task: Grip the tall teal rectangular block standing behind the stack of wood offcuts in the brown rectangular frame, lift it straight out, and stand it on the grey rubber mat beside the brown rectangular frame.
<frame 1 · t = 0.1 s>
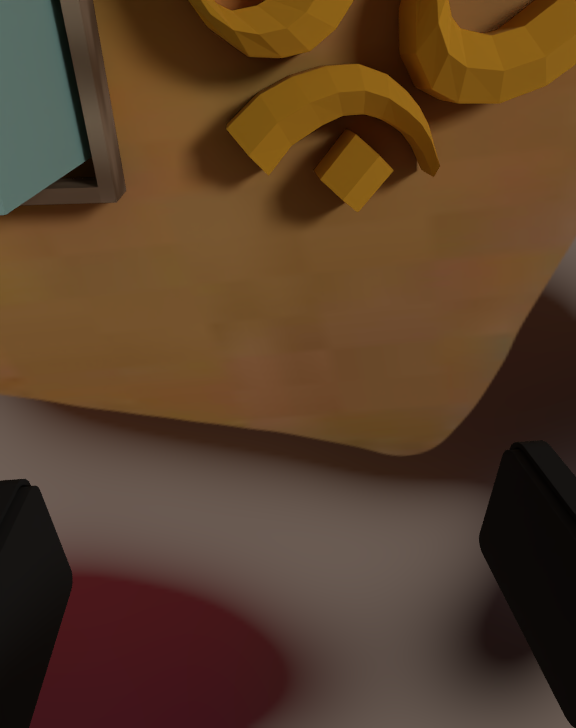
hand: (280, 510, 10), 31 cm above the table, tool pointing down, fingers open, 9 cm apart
teal rectangular block: (52, 63, 31), resting in brown rectangular frame
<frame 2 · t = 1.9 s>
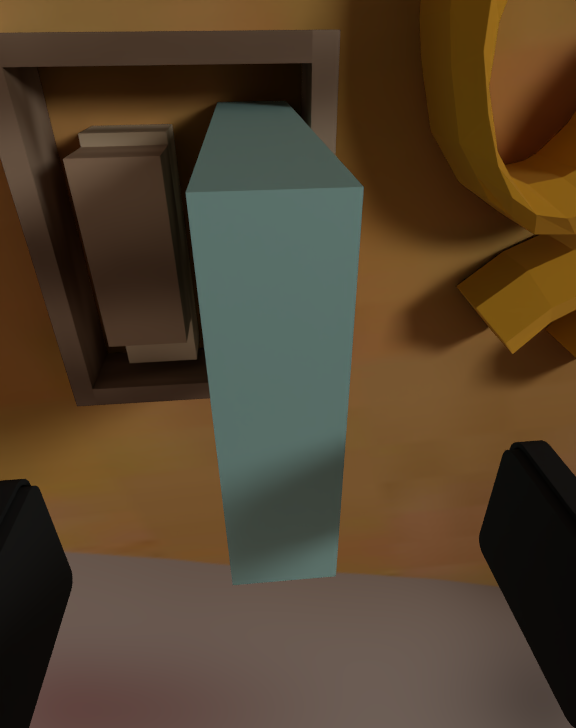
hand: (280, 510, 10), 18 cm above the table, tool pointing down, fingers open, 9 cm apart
teal rectangular block: (257, 225, 25), resting in brown rectangular frame
brown rectangular frame: (190, 227, 24), on the table
offcut stack: (153, 243, 25), resting in brown rectangular frame
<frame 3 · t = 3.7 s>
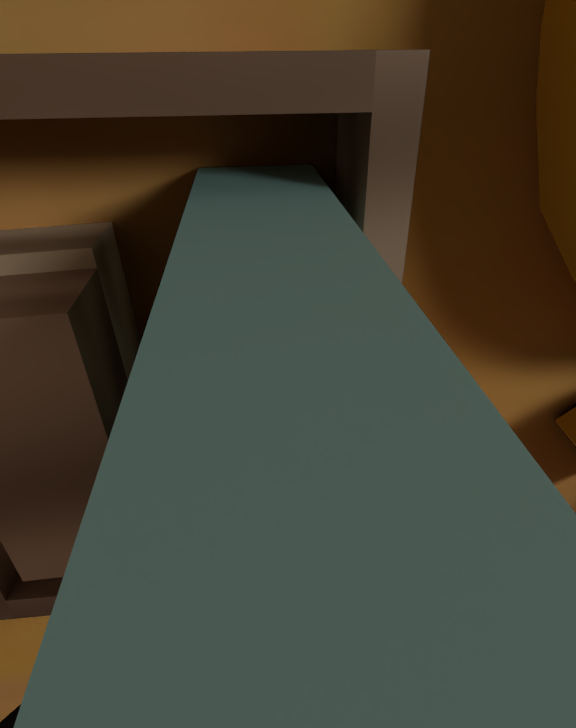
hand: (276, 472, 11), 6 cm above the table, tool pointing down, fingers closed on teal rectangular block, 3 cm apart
teal rectangular block: (263, 346, 16), resting in brown rectangular frame, touching gripper
brown rectangular frame: (158, 351, 16), on the table
offcut stack: (100, 387, 16), resting in brown rectangular frame
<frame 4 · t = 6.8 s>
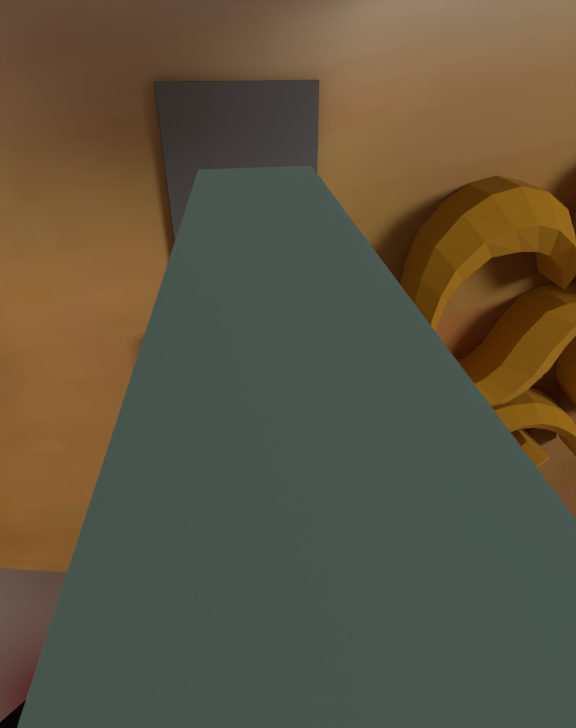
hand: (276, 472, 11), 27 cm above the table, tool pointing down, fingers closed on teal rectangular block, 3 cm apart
mat: (243, 197, 34), on the table
decorative symbol: (563, 318, 42), on the table
teal rectangular block: (263, 347, 16), point 21 cm above the table, touching gripper
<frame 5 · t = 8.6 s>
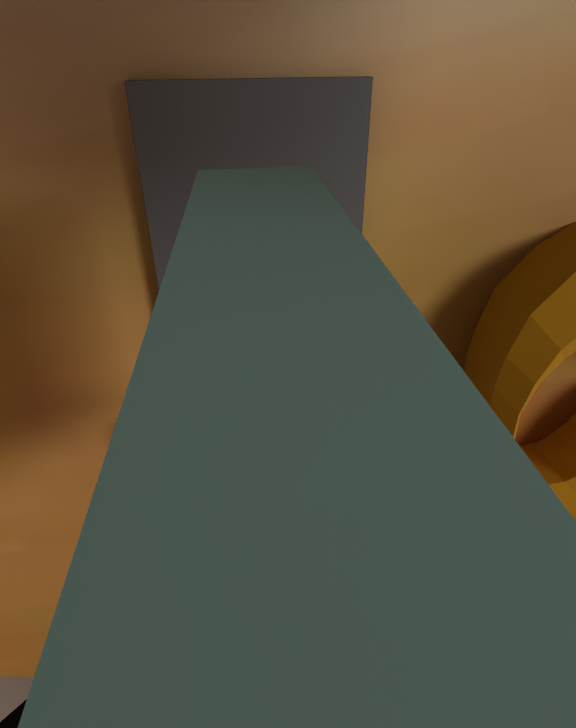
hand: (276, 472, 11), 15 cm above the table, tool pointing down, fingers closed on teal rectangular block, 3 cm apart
mat: (257, 243, 24), on the table
teal rectangular block: (263, 347, 16), point 10 cm above the table, touching gripper
when the fingers open (7 cm above the table, at t = 10.2 s): teal rectangular block stays where it is, resting on mat.
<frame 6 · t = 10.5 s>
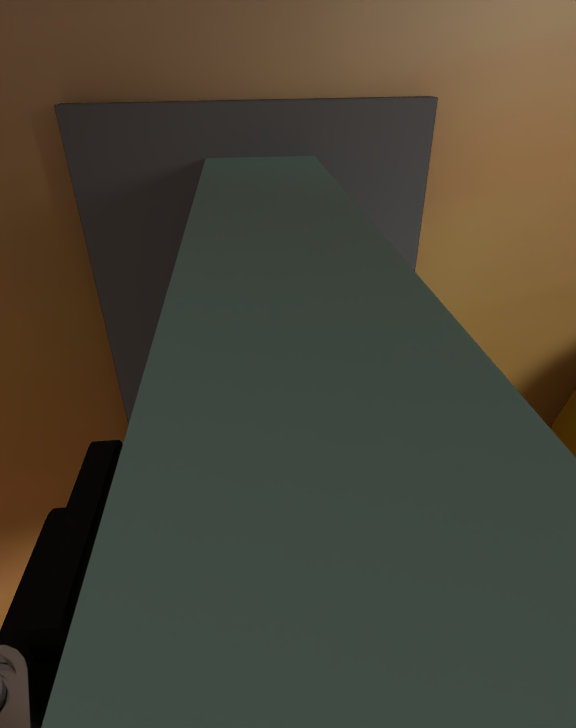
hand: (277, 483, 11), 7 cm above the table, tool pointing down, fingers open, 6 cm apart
mat: (261, 328, 17), on the table
teal rectangular block: (266, 333, 16), point 1 cm above the table, touching mat
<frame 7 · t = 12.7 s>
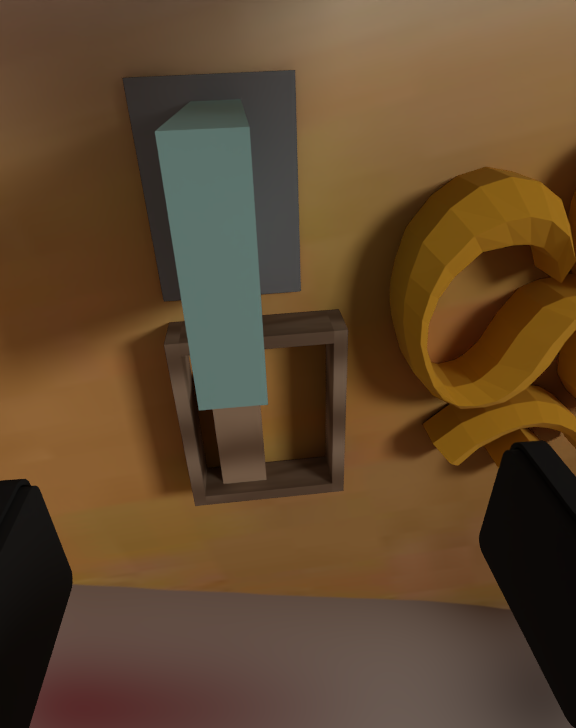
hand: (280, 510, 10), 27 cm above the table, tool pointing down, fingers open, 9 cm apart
mat: (222, 195, 33), on the table
decorative symbol: (563, 312, 41), on the table
teal rectangular block: (224, 195, 32), point 1 cm above the table, touching mat
brown rectangular frame: (261, 400, 42), on the table
offcut stack: (240, 414, 42), resting in brown rectangular frame
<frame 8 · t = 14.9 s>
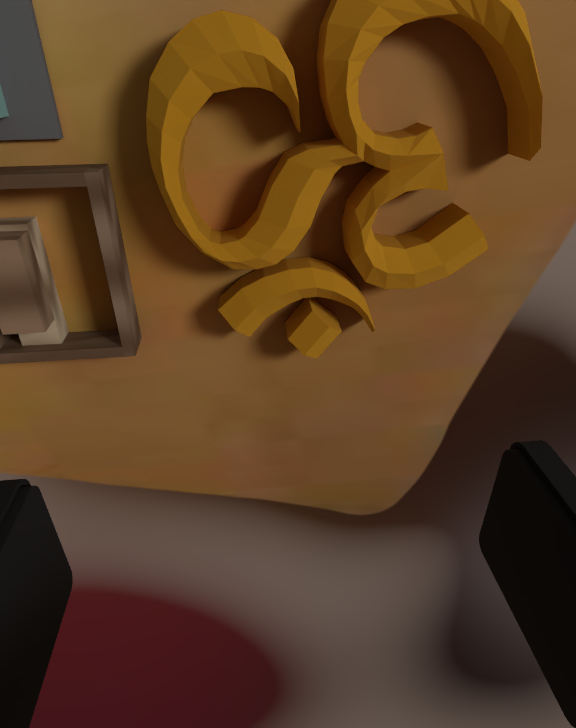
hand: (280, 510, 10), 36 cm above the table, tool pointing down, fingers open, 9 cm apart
decorative symbol: (339, 183, 43), on the table
brown rectangular frame: (51, 262, 43), on the table
offcut stack: (34, 278, 44), resting in brown rectangular frame
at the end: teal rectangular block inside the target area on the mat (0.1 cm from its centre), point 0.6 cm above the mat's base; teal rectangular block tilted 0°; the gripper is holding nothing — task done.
